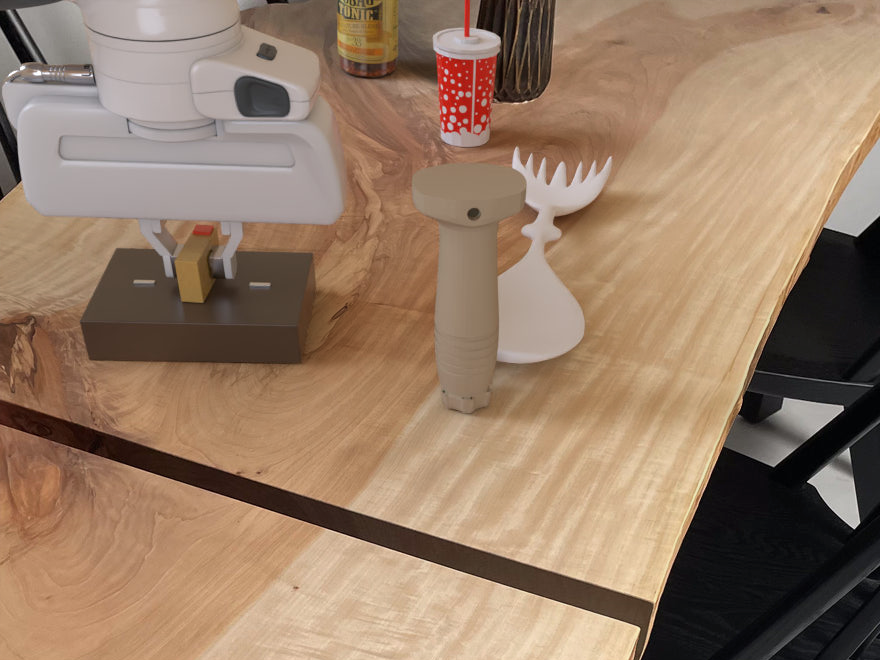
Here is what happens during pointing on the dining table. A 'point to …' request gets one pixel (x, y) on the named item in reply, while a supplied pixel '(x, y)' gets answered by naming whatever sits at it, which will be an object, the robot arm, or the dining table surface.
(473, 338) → the handle
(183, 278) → the lock knob
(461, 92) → the beverage cup
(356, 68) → the brown tonic bottle
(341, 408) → the dining table surface
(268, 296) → the plate
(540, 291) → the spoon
